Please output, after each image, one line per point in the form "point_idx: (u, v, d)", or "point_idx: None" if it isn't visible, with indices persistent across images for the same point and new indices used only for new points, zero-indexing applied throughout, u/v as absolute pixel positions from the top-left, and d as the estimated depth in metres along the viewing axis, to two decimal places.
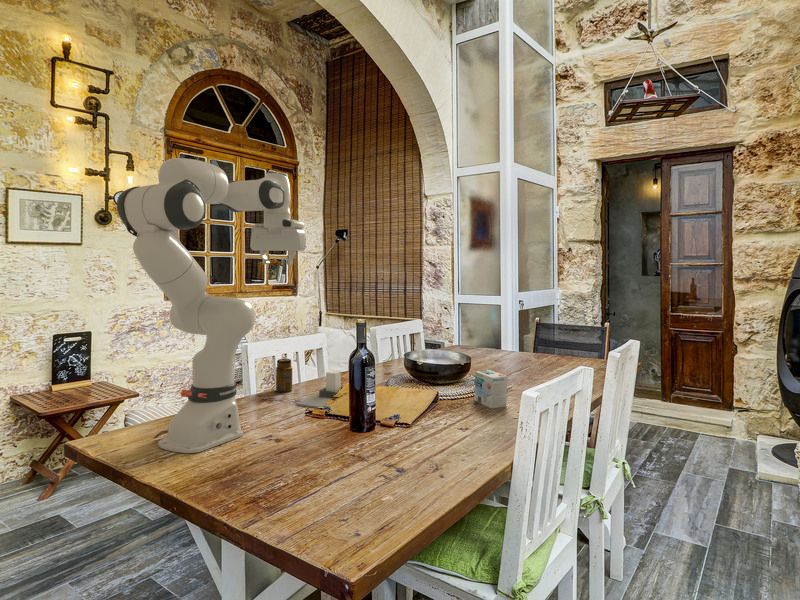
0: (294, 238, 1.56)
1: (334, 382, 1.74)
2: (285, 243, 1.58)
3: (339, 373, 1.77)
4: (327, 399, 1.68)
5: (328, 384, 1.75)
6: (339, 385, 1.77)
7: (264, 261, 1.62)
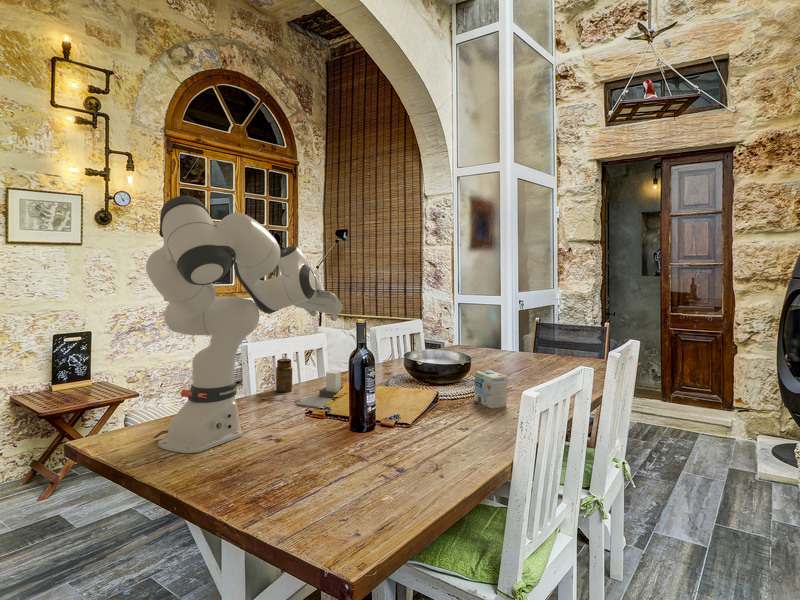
0: None
1: (334, 382, 1.74)
2: None
3: (339, 373, 1.77)
4: (327, 399, 1.68)
5: (328, 384, 1.75)
6: (339, 385, 1.77)
7: None
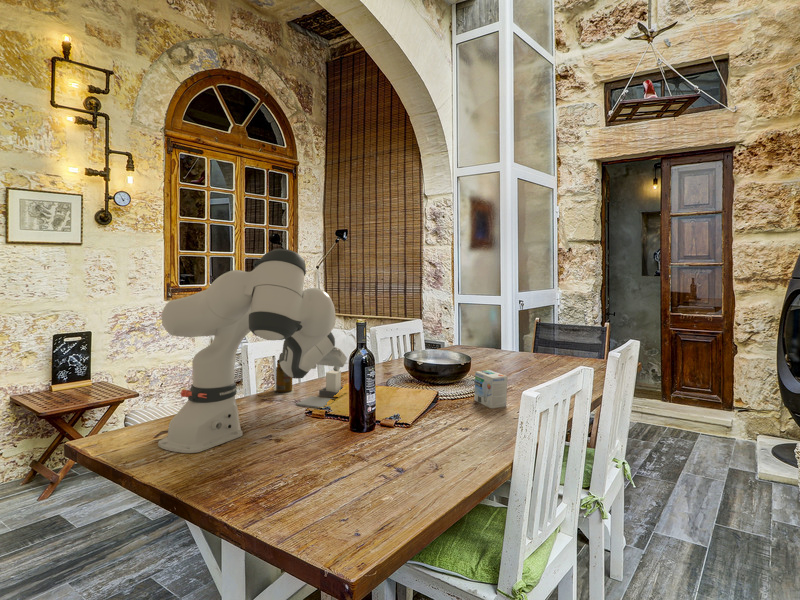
0: None
1: (334, 382, 1.74)
2: None
3: (339, 373, 1.77)
4: (327, 399, 1.68)
5: (328, 384, 1.75)
6: (339, 385, 1.77)
7: None
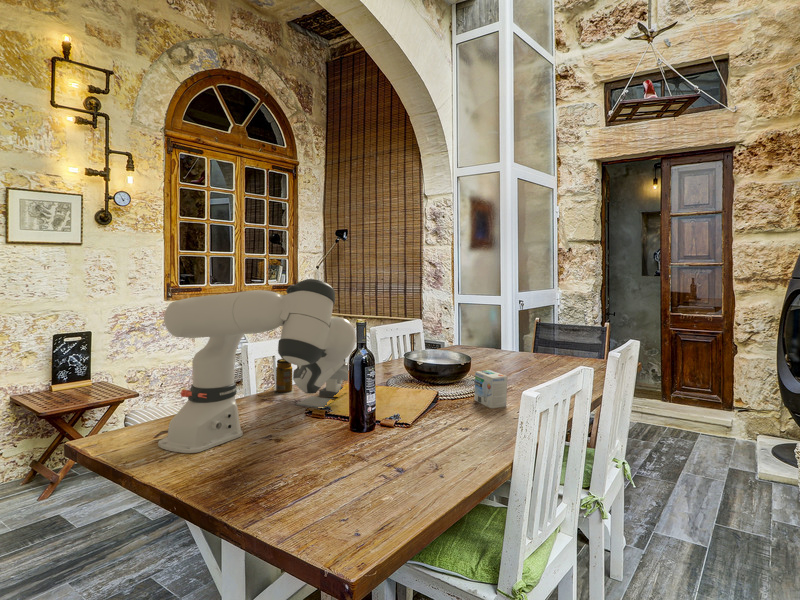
0: None
1: (334, 382, 1.74)
2: None
3: None
4: (327, 399, 1.68)
5: (328, 384, 1.75)
6: (339, 385, 1.77)
7: None
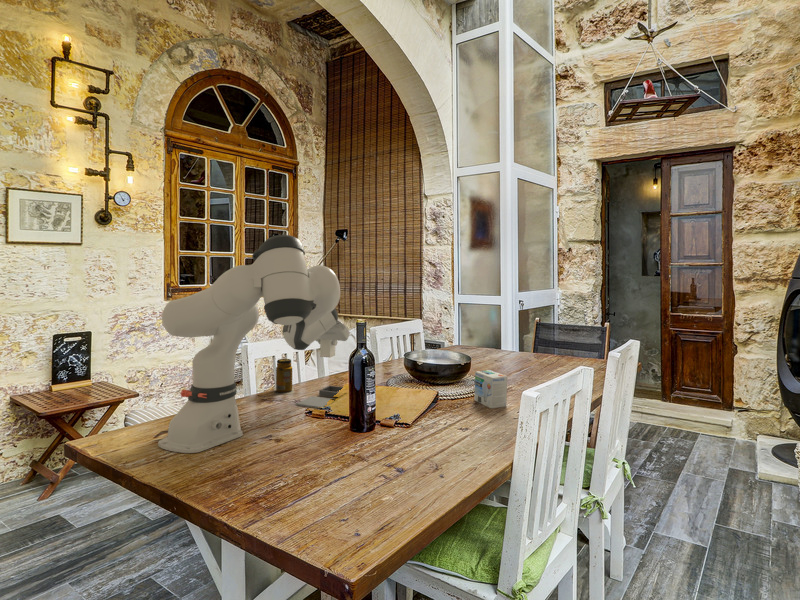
0: None
1: (328, 343, 1.71)
2: None
3: None
4: (327, 399, 1.68)
5: (322, 345, 1.72)
6: (333, 347, 1.74)
7: None
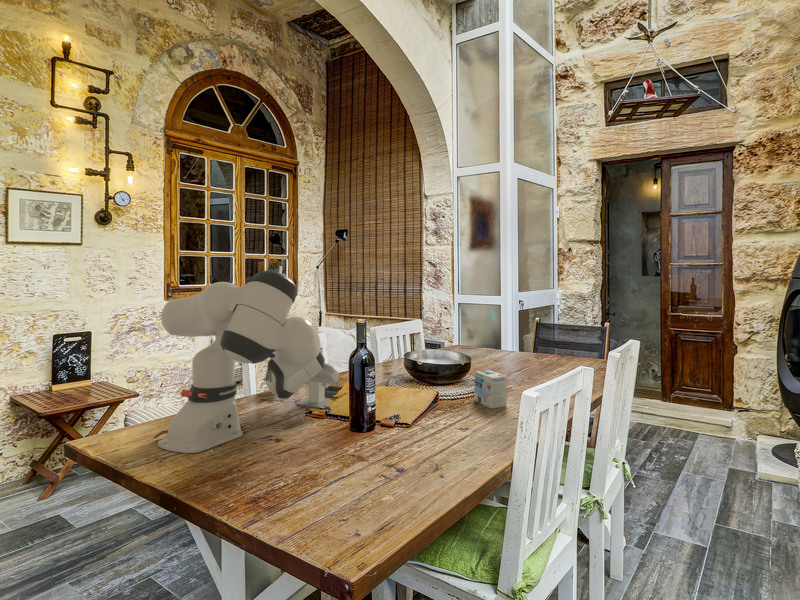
0: None
1: (317, 388, 1.63)
2: None
3: None
4: (327, 399, 1.68)
5: (310, 390, 1.64)
6: (323, 391, 1.66)
7: None
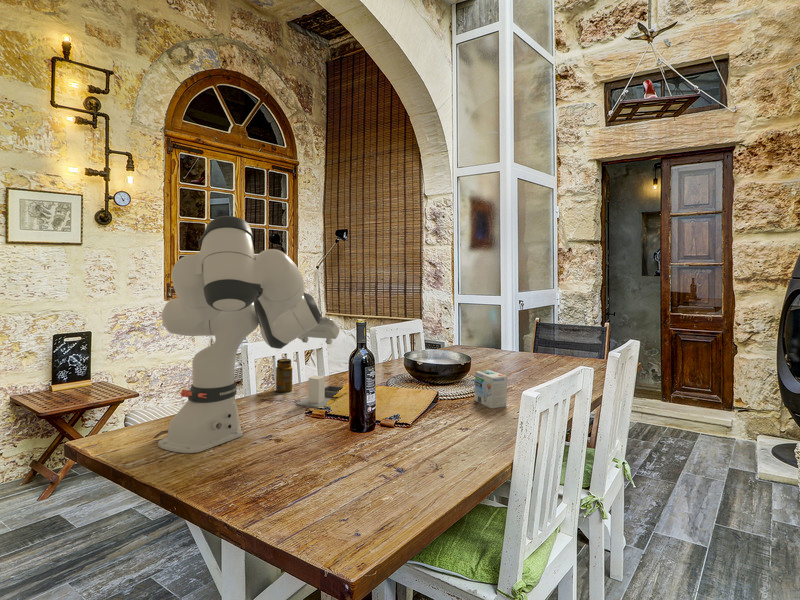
0: None
1: (317, 388, 1.63)
2: None
3: (323, 379, 1.65)
4: (327, 399, 1.68)
5: (310, 390, 1.64)
6: (323, 391, 1.66)
7: None
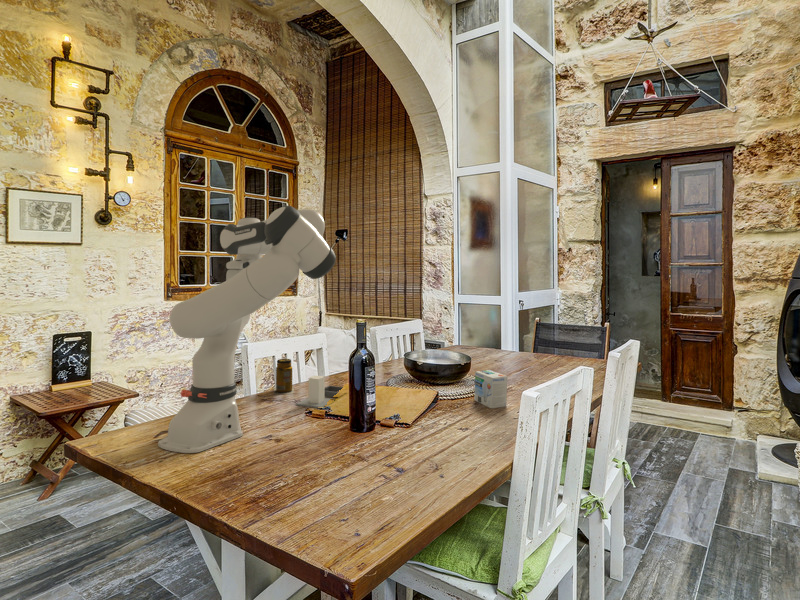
0: None
1: (317, 388, 1.63)
2: None
3: (323, 379, 1.65)
4: (327, 399, 1.68)
5: (310, 390, 1.64)
6: (323, 391, 1.66)
7: None
